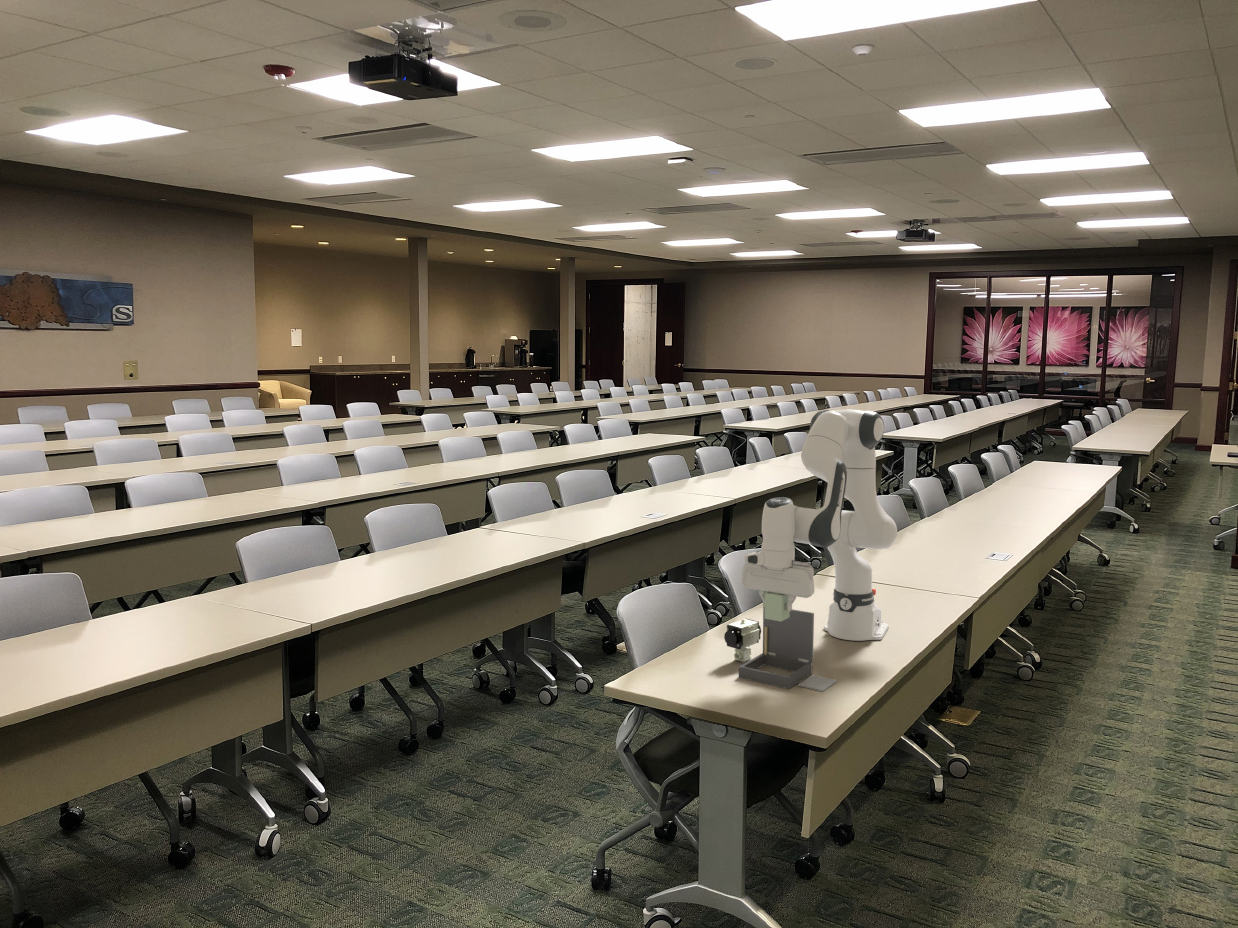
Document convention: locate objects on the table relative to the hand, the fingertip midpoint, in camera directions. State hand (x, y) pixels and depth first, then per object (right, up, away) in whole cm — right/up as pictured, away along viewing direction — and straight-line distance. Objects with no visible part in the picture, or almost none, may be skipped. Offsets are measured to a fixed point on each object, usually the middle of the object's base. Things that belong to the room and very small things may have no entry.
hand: (777, 608), depth 243 cm
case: (0, -19, +2) cm, 19 cm away
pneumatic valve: (-7, -18, +15) cm, 24 cm away
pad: (+10, -20, -4) cm, 22 cm away
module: (0, -3, 0) cm, 3 cm away
